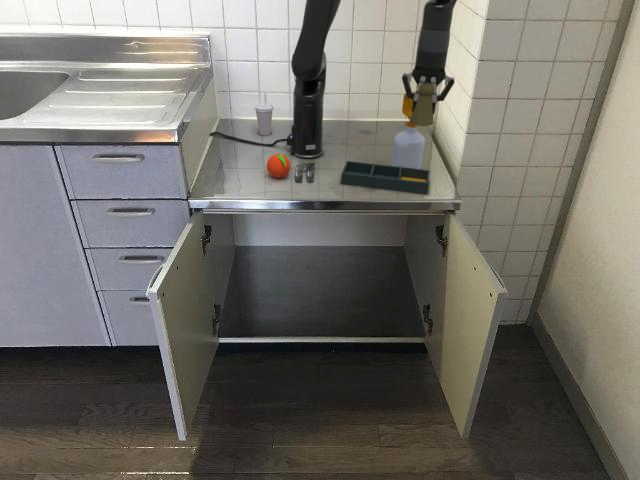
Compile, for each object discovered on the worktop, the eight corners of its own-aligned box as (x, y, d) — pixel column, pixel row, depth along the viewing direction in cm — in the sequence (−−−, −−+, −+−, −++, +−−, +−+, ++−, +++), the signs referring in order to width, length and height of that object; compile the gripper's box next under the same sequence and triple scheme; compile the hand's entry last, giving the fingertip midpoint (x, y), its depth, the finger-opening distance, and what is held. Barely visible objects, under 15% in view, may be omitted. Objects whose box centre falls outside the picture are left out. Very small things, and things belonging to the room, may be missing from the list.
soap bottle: (402, 179, 149) (413, 97, 135) (385, 167, 155) (393, 87, 141) (426, 173, 152) (439, 93, 138) (408, 161, 159) (419, 84, 145)
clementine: (296, 180, 146) (296, 157, 142) (275, 185, 143) (275, 162, 139) (283, 169, 152) (283, 147, 148) (262, 174, 148) (262, 152, 144)
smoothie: (273, 137, 172) (272, 96, 164) (254, 136, 172) (252, 96, 164) (274, 130, 177) (274, 90, 170) (256, 129, 177) (255, 90, 169)
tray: (341, 183, 145) (341, 173, 143) (345, 170, 152) (346, 160, 150) (427, 194, 141) (428, 183, 139) (427, 180, 148) (429, 170, 146)
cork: (432, 127, 132) (439, 85, 126) (409, 124, 133) (415, 83, 127) (433, 119, 137) (439, 78, 131) (410, 116, 138) (416, 76, 132)
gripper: (403, 48, 122) (395, 116, 132) (462, 53, 120) (449, 122, 130) (405, 41, 128) (397, 107, 138) (461, 45, 126) (449, 112, 136)
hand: (422, 114), depth 134 cm, fingers closed on cork, 3 cm apart
